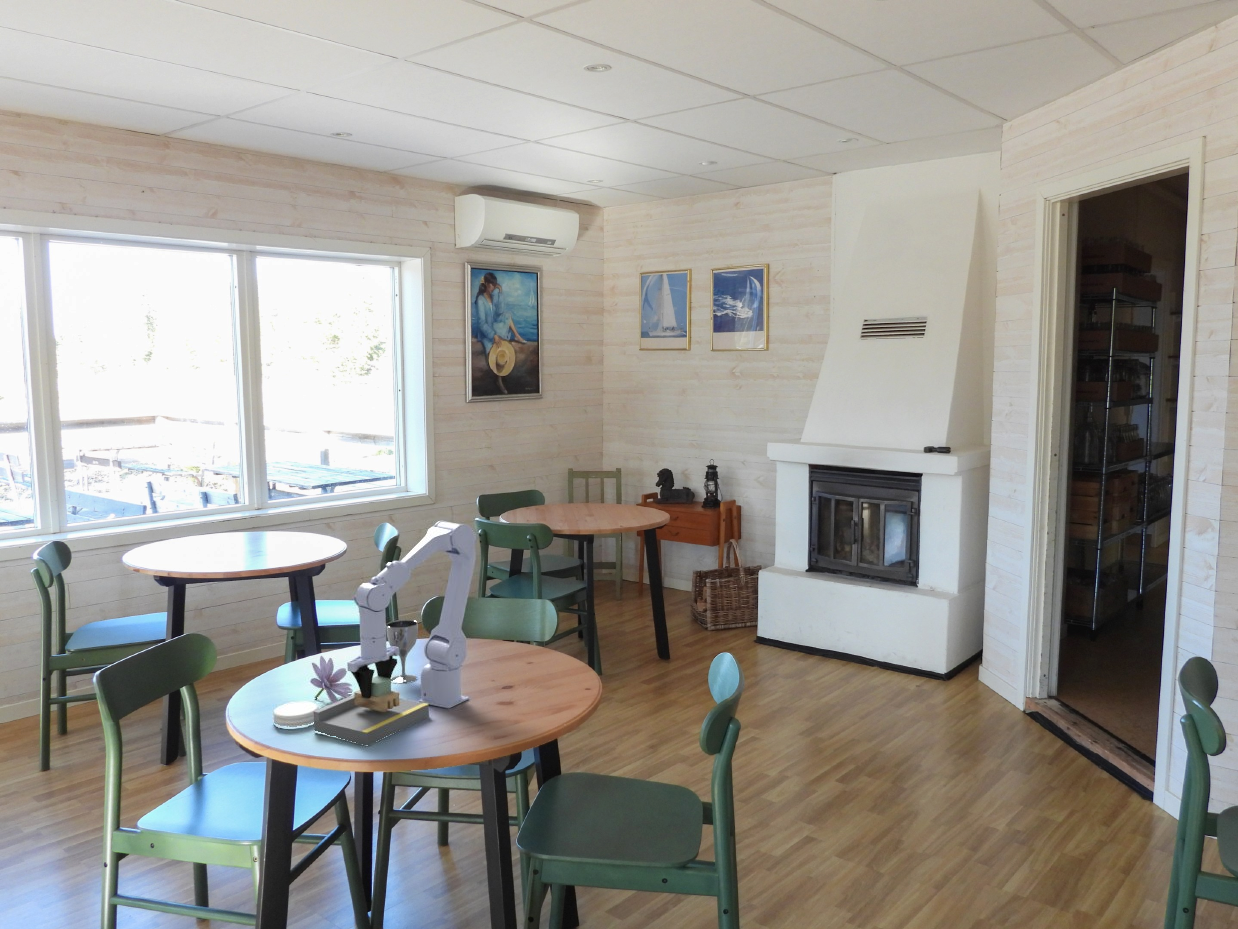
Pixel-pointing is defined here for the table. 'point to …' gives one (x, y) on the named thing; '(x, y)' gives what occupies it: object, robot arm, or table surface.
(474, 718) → the table surface
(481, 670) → the table surface
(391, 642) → the silver goblet
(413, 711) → the dock
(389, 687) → the green block
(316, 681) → the water lily
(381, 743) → the table surface
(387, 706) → the pallet
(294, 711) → the white round disc
